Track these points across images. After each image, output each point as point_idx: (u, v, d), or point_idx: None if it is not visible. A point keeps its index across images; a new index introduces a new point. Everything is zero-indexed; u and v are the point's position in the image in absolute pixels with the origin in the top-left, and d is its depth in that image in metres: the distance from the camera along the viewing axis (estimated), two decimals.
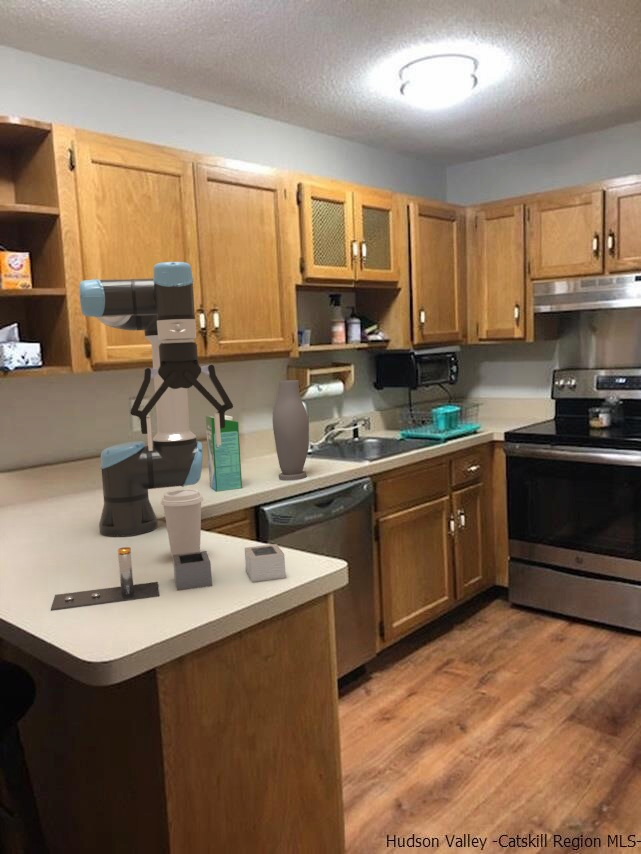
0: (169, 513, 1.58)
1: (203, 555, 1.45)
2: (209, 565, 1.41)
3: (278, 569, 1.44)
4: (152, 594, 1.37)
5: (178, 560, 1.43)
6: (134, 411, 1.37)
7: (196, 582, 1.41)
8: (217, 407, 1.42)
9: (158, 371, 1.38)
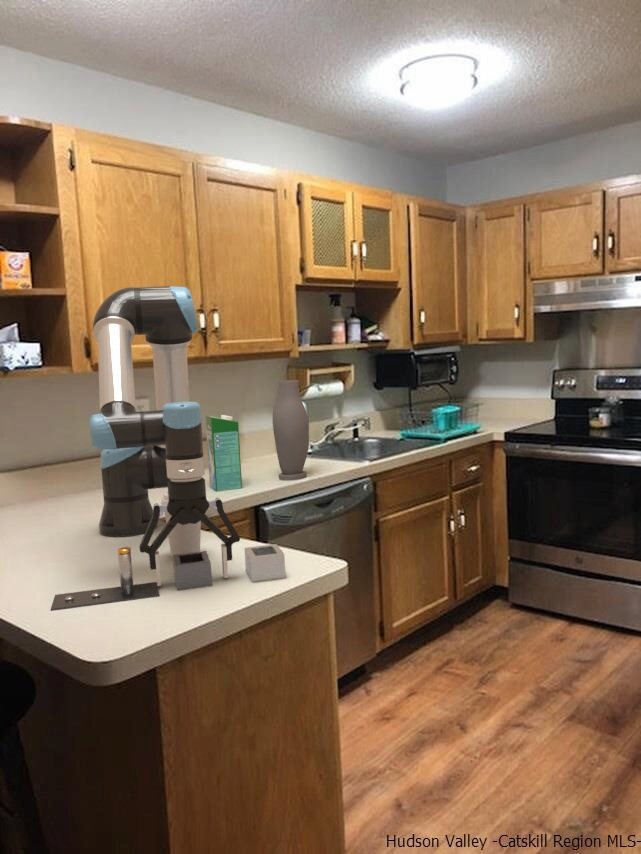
0: None
1: (203, 555, 1.45)
2: (209, 565, 1.41)
3: (278, 569, 1.44)
4: (152, 594, 1.37)
5: (178, 560, 1.43)
6: (143, 548, 1.40)
7: (196, 582, 1.41)
8: (224, 541, 1.44)
9: (167, 508, 1.41)
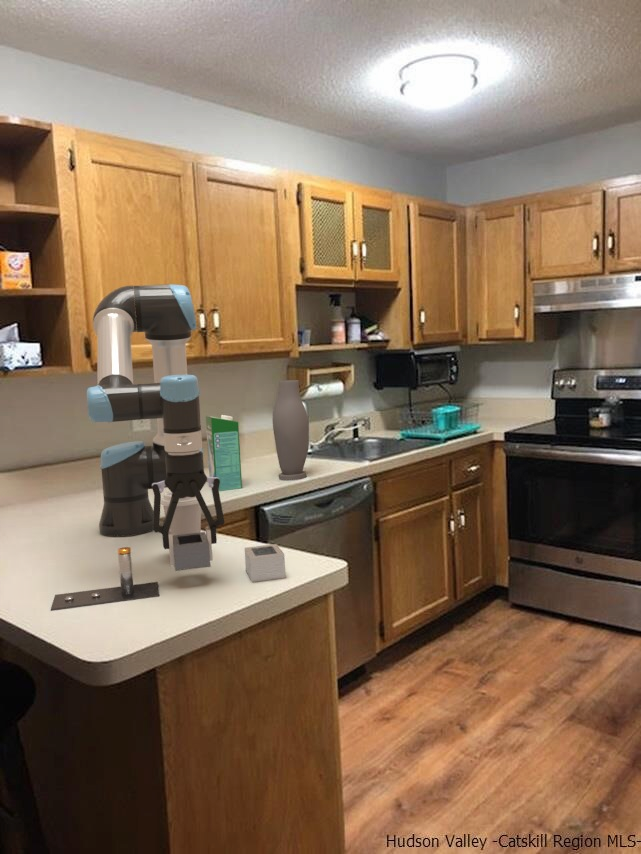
0: None
1: (202, 536, 1.45)
2: (208, 546, 1.41)
3: (278, 569, 1.44)
4: (152, 594, 1.37)
5: (177, 541, 1.43)
6: (156, 528, 1.41)
7: (195, 563, 1.41)
8: (209, 523, 1.43)
9: (165, 483, 1.40)
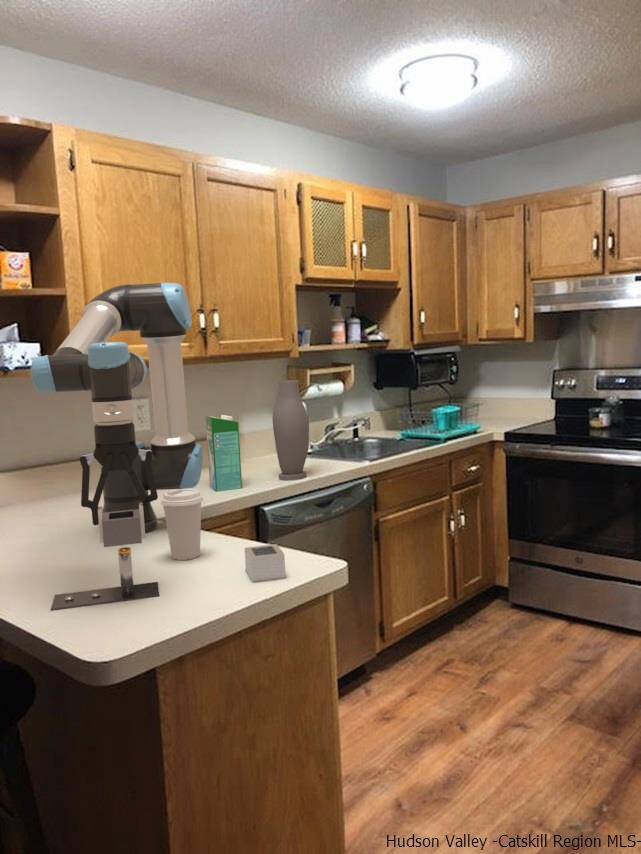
0: (169, 513, 1.58)
1: (135, 512, 1.39)
2: (138, 521, 1.34)
3: (278, 569, 1.44)
4: (152, 594, 1.37)
5: (107, 516, 1.36)
6: (84, 502, 1.34)
7: (125, 539, 1.34)
8: (142, 497, 1.37)
9: (93, 455, 1.34)
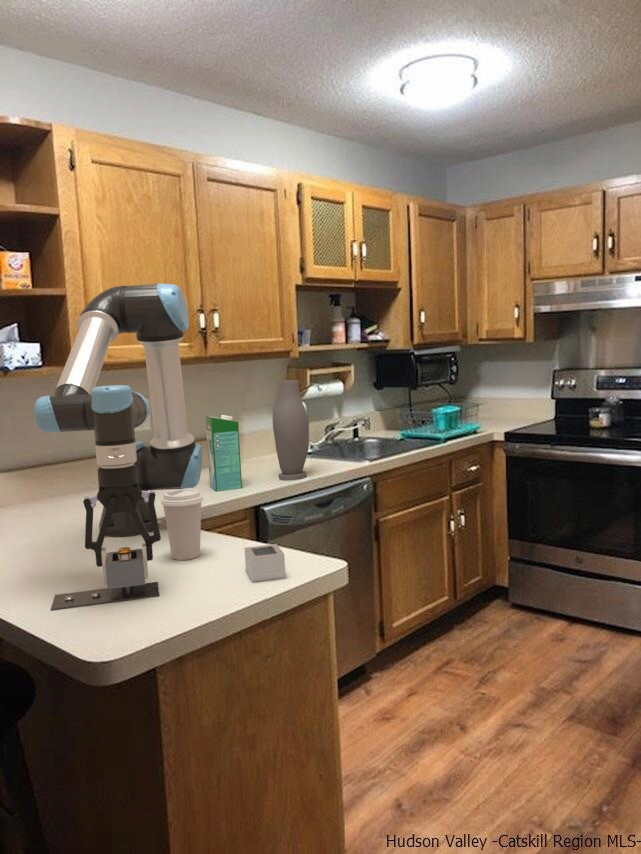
0: (169, 513, 1.58)
1: (138, 553, 1.40)
2: (142, 563, 1.35)
3: (278, 569, 1.44)
4: (152, 594, 1.37)
5: (110, 558, 1.37)
6: (88, 544, 1.35)
7: (128, 581, 1.35)
8: (145, 539, 1.38)
9: (97, 498, 1.35)
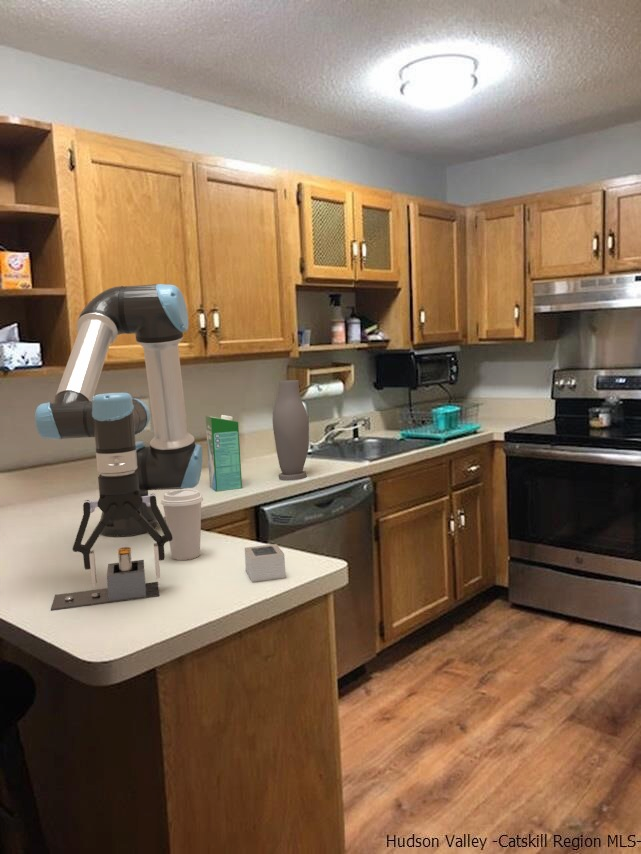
0: (169, 513, 1.58)
1: (139, 564, 1.40)
2: (143, 575, 1.36)
3: (278, 569, 1.44)
4: (152, 594, 1.37)
5: (112, 569, 1.38)
6: (76, 547, 1.35)
7: (129, 592, 1.35)
8: (156, 540, 1.38)
9: (97, 504, 1.35)
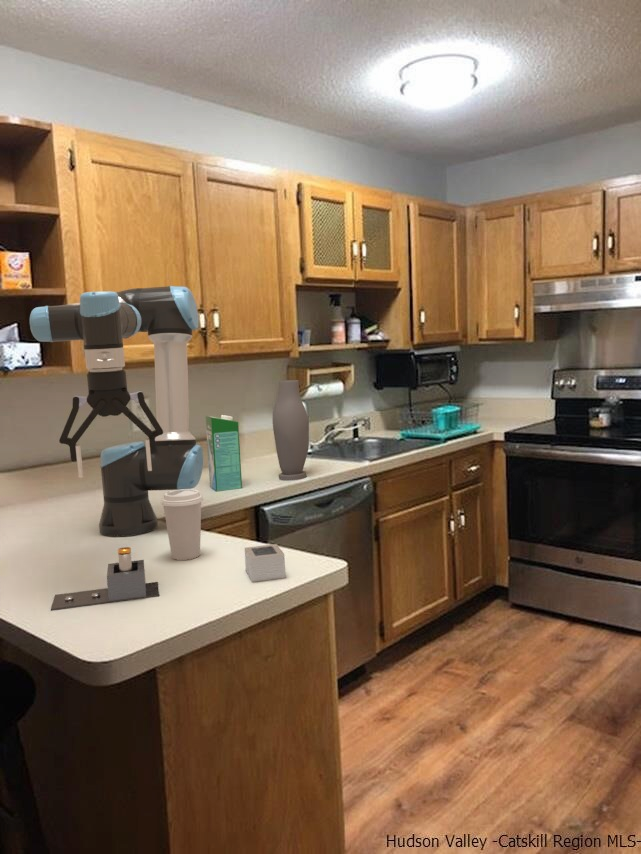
0: (169, 513, 1.58)
1: (139, 564, 1.40)
2: (143, 575, 1.36)
3: (278, 569, 1.44)
4: (152, 594, 1.37)
5: (112, 569, 1.38)
6: (63, 439, 1.39)
7: (129, 592, 1.35)
8: (147, 433, 1.43)
9: (86, 399, 1.40)
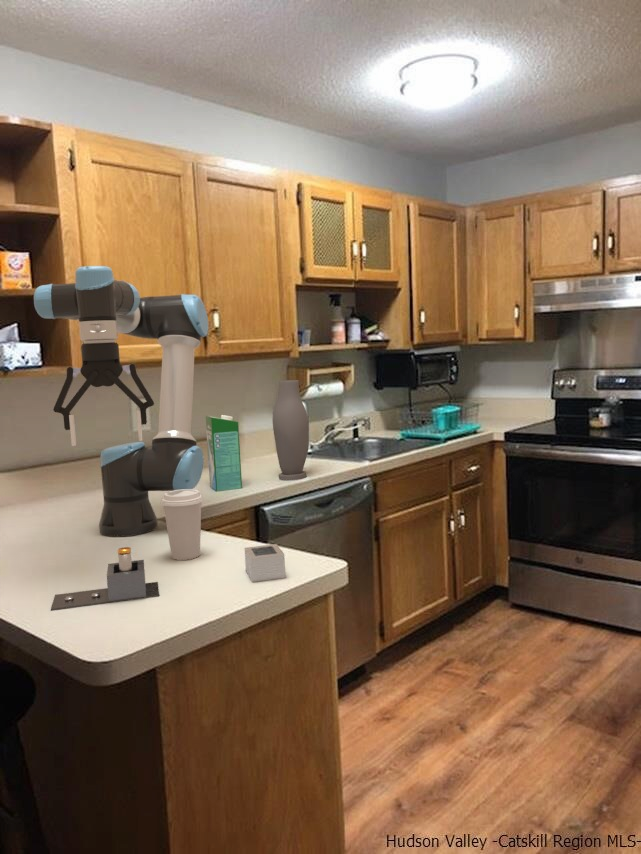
0: (169, 513, 1.58)
1: (139, 564, 1.40)
2: (143, 575, 1.36)
3: (278, 569, 1.44)
4: (152, 594, 1.37)
5: (112, 569, 1.38)
6: (57, 408, 1.44)
7: (129, 592, 1.35)
8: (138, 404, 1.48)
9: (80, 370, 1.45)
